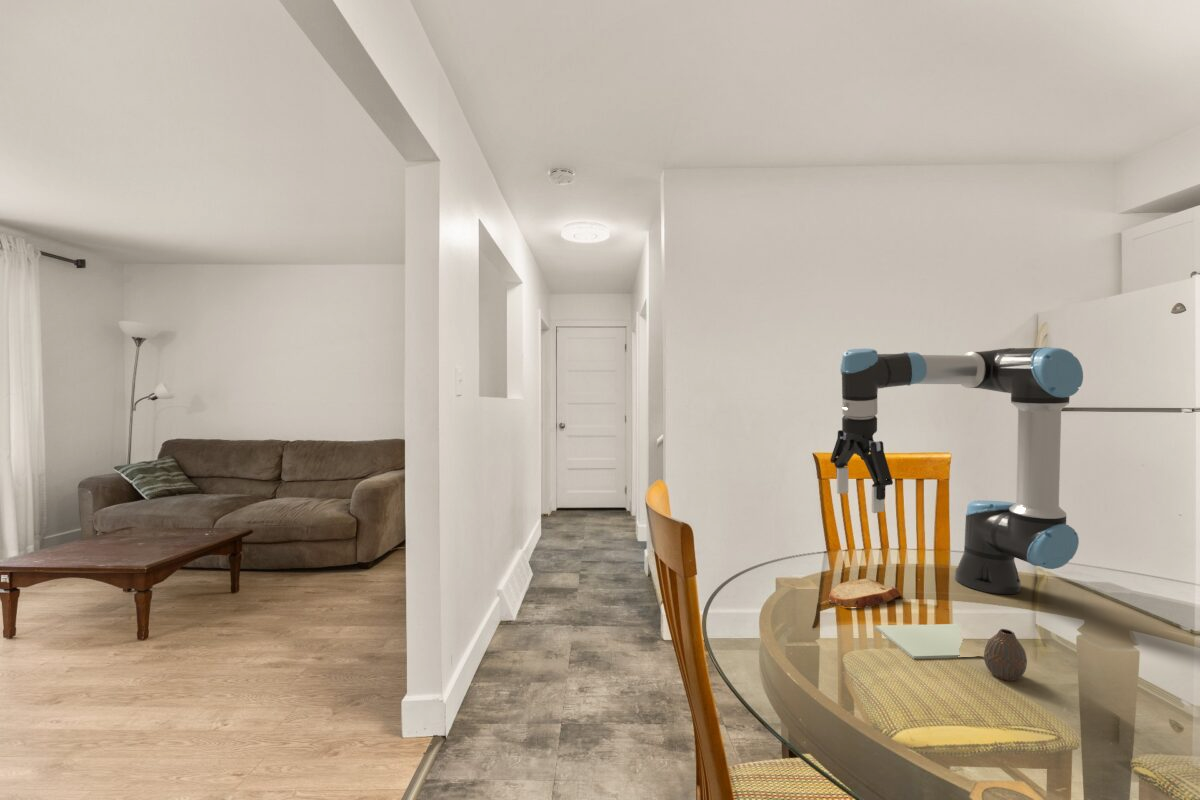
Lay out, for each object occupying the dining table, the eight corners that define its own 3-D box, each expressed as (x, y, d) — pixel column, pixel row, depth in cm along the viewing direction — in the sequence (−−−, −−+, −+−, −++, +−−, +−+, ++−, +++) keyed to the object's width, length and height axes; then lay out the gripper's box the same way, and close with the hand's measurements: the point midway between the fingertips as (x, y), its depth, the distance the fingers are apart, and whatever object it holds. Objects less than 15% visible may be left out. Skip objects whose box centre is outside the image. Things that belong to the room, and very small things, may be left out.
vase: (974, 666, 119) (977, 623, 119) (1006, 666, 120) (1010, 623, 119) (1000, 685, 113) (1003, 640, 112) (1034, 684, 113) (1038, 639, 113)
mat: (957, 626, 138) (957, 623, 138) (1004, 656, 124) (1004, 653, 124) (875, 628, 136) (875, 625, 136) (913, 659, 122) (913, 656, 122)
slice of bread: (830, 608, 147) (831, 593, 147) (823, 583, 164) (824, 569, 164) (911, 618, 142) (912, 603, 142) (895, 591, 160) (896, 577, 159)
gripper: (815, 407, 151) (816, 487, 155) (880, 429, 127) (879, 523, 131) (842, 404, 153) (842, 483, 157) (911, 424, 129) (909, 518, 133)
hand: (859, 502), depth 144 cm, fingers open, 13 cm apart
